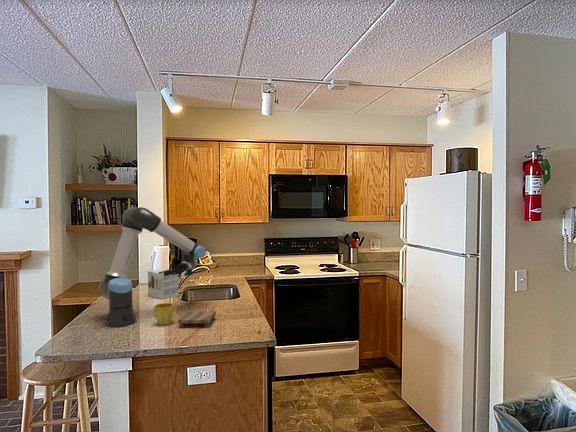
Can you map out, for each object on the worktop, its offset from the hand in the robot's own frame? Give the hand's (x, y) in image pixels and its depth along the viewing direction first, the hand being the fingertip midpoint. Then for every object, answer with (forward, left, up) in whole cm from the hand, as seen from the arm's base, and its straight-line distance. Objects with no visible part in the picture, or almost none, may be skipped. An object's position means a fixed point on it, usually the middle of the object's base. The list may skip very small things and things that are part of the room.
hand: (170, 276), depth 216 cm
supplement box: (-22, +49, -23) cm, 58 cm away
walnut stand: (+19, -12, -23) cm, 32 cm away
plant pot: (+1, -12, -23) cm, 26 cm away
